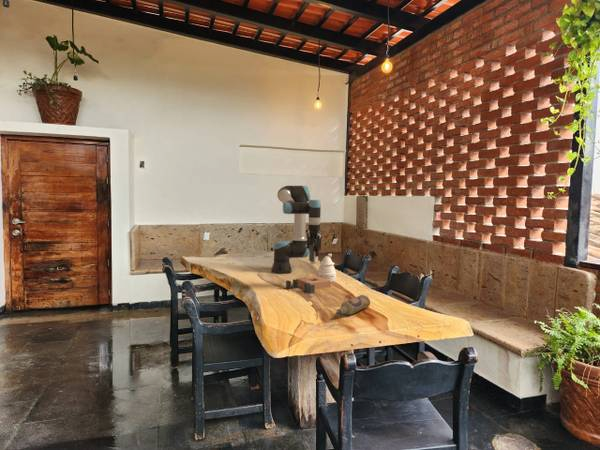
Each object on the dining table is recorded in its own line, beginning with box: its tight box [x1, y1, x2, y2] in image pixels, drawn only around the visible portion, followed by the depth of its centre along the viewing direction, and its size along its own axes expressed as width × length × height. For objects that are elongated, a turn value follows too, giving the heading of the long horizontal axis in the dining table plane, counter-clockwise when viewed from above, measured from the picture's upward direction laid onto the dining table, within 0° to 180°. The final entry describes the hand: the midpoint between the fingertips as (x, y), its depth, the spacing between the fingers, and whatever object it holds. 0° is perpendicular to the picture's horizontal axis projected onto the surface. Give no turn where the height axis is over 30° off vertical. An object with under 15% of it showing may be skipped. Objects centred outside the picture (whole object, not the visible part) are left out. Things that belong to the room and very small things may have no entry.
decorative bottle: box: [335, 294, 371, 316], centre depth 187 cm, size 8×26×7 cm, turn 140°
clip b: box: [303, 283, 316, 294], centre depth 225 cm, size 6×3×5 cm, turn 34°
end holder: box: [295, 275, 332, 290], centre depth 241 cm, size 16×16×4 cm
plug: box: [308, 245, 318, 265], centre depth 239 cm, size 4×4×12 cm
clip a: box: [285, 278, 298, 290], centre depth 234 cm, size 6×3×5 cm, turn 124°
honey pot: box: [316, 253, 337, 283], centre depth 258 cm, size 13×13×18 cm
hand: (313, 260), depth 240 cm, fingers closed on plug, 4 cm apart
